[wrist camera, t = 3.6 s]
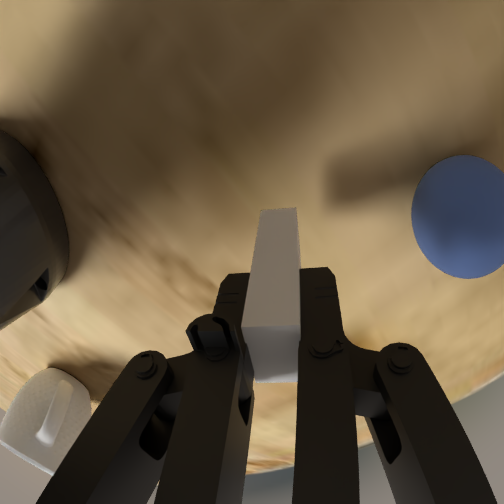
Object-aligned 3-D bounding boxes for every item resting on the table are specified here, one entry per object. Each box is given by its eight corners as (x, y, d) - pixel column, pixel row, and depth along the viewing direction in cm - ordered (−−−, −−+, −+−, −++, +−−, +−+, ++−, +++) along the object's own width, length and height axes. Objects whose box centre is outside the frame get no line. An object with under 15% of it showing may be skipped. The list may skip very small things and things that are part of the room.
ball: (392, 239, 17) (425, 312, 12) (398, 138, 14) (451, 185, 9) (474, 233, 16) (520, 296, 11) (489, 142, 13) (555, 187, 8)
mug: (40, 330, 27) (-13, 428, 16) (124, 384, 30) (88, 487, 20) (31, 371, 34) (-3, 442, 24) (93, 410, 38) (67, 483, 27)
